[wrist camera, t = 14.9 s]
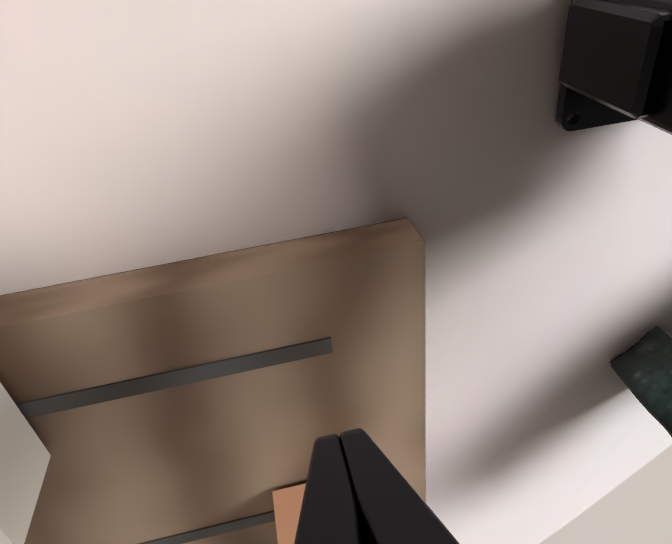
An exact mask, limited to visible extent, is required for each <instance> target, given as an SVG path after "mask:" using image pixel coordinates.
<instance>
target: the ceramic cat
mask: <svg viewBox="0 0 672 544" xmlns="http://www.w3.org/2000/svg"><path fill="white" fill-rule="evenodd" d="M610 363H611V367H612V368H613V370H614V371H615V372H616V373H617V375H618V376H619V377H620V378H621V379H622V381H623V382H624V383H625V384H626V385H627V387H628V388H629V389H630V390H631V392H632V393H633V394H634V395H635V397H636V398H637V399H638V400H639V401H640V403H641V404H642V405H643V406H644V407H645V408H646V409H647V411H648V412H649V413H650V414H651V415H652V416H653V417H654V418H655V419H656V420H657V421H658V422H659V423H660V424H661V425H662V426H663V427H664V428H665V429H666V430H667V431H668V433H669V434H670V435H671V437H672V338H671V337H669V336H668V335H667V334H666V333H665V332H664V331H662V330H660V329H659V328H657V327H655V329H654V330H652V331H650V332H649V333H648V334H647V335H646V336H645V337H644V338H643V339H642V340H641V341H640V342H639V343H638V344H637V345H635V346H634V347H633V348H631V349H630V350H629V351H627V352H626V353H624V354H622V355H621V356H619V357H618V358H616V359H615V360H613V361H611V362H610Z"/></svg>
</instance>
